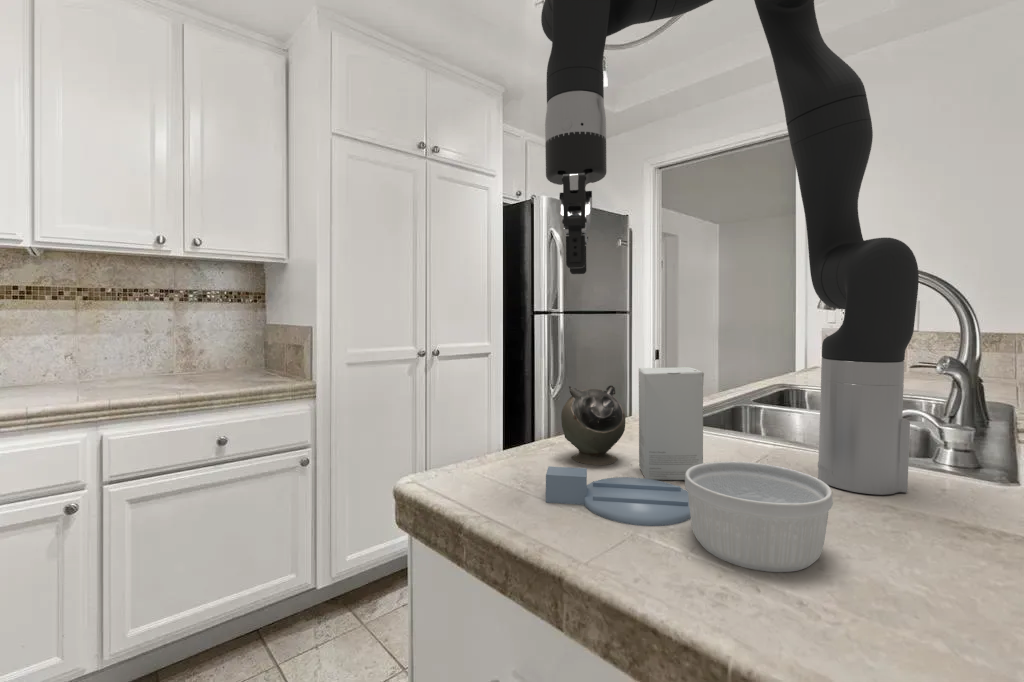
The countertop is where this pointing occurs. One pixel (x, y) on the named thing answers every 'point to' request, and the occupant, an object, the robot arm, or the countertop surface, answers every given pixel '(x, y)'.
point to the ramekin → (758, 514)
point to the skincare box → (670, 421)
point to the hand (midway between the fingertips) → (577, 271)
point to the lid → (619, 497)
